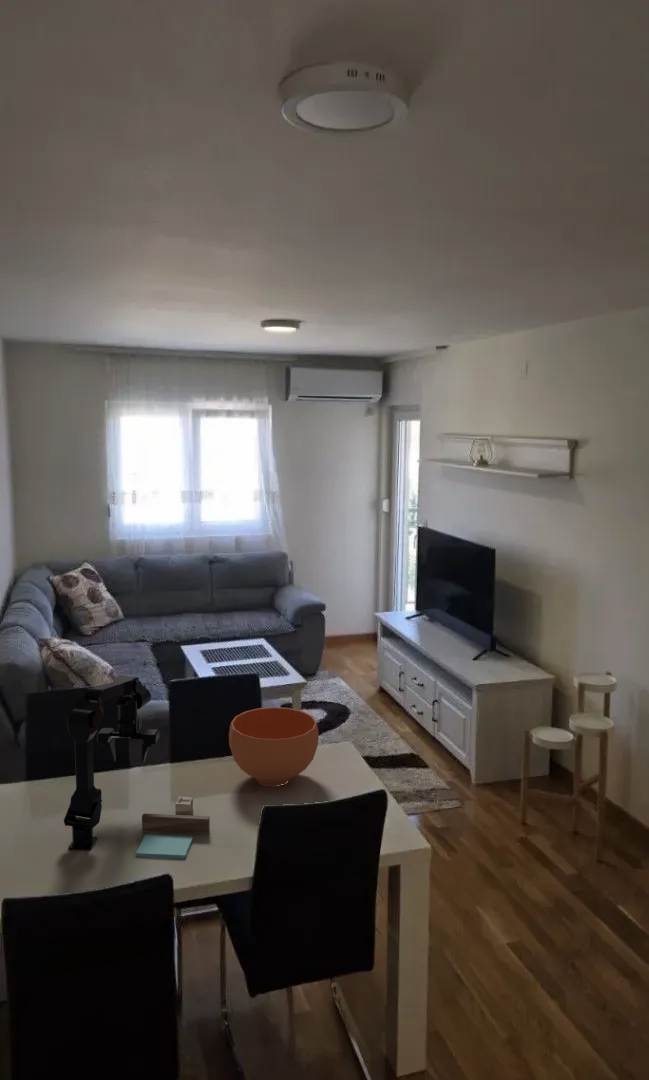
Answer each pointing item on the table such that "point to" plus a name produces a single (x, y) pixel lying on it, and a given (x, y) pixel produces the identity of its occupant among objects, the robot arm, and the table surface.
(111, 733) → the robot arm
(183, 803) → the maple cube
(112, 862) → the table surface
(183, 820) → the brown wooden plank
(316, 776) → the table surface
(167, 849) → the display plate
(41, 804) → the table surface
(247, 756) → the bowl
